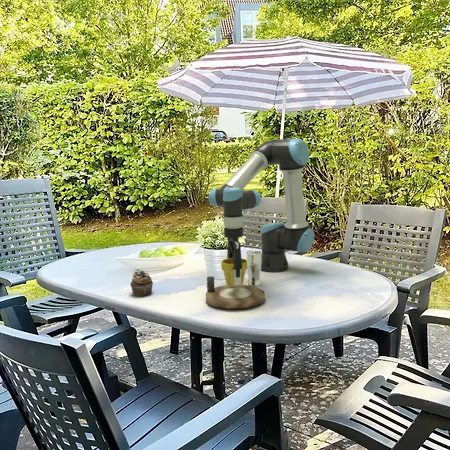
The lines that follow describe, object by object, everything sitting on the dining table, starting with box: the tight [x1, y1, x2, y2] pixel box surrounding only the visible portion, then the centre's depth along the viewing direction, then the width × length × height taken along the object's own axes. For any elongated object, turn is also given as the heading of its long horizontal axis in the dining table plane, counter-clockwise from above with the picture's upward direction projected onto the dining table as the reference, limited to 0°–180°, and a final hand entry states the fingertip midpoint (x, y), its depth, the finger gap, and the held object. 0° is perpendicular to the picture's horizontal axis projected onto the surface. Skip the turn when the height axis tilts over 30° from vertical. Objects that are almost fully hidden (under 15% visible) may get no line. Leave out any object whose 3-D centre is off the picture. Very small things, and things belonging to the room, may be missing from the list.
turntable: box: [205, 275, 266, 309], centre depth 192 cm, size 24×24×8 cm
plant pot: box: [220, 257, 247, 287], centre depth 191 cm, size 10×10×10 cm
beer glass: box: [245, 250, 262, 287], centre depth 214 cm, size 7×7×15 cm
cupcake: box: [130, 270, 154, 298], centre depth 205 cm, size 10×10×10 cm
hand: (234, 281), depth 192 cm, fingers closed on plant pot, 10 cm apart
